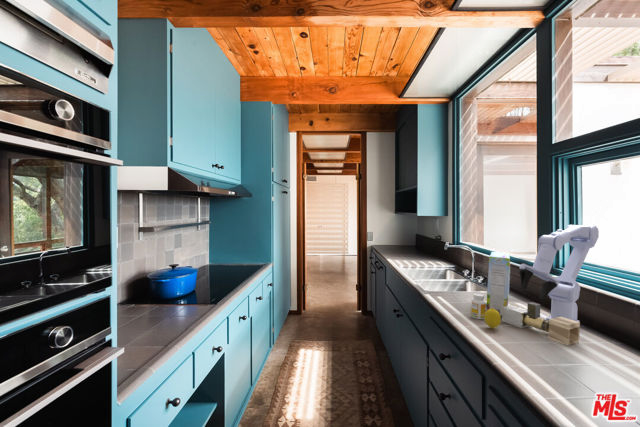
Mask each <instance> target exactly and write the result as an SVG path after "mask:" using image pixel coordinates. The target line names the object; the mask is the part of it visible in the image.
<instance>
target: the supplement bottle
mask: <svg viewBox="0 0 640 427" xmlns="http://www.w3.org/2000/svg"><path fill="white" fill-rule="evenodd" d="M484 299H485V295H484V294H482V293H473V298H472V299H471V304H470V306H471V307H470V308H471V309H470V310H471V311H470V316H471V318H473V319H476V320H485V319H484V316H485V313H486V304H487V301H486V300H484Z"/></svg>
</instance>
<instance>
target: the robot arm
mask: <svg viewBox="0 0 640 427" xmlns="http://www.w3.org/2000/svg"><path fill="white" fill-rule="evenodd" d="M599 233H600V232H599V228H598V227H597V226H596V225H582V224H581V225H580V224H568V225H566V229H565V230H563V228H562V229H556V231H554V232H551V233H550V234H543V235H541V236H540V237H539V238H538V246H537V250H538V251H537V252H536V256H535V258H534V262H533V264H532V266H530V265H528V264H526V263H521V264H520V265H519V269H520V270H519V272H518V273H519V276H520V289H521V290H526V289H527V287H528V285H529V282H530V280H531V278H532V276H533V275H534V276H536V277H538V278H539V279H541V280H543V281H545V282H542V283H541V291H540V294H539V298H538V299H540V300H545V299H546V298H547V296H548V297H549V299H551V303H550V304H551V306H550V307H551V308H550V309H551V310H550V316H547V317H545V320H549V319H552V318H557V317H564V318H567V319H570V320H574V321H577V322H580V320H578V305H577V303H576V301H577V300H579V297H580V293H581V292H580V291H581V286H580V284H579V283H578V281H576V280H577V277H578V275H579V274H580V271H581V268H582V267H583V264H584V262H585V260H586V257H587V255H588V253H589V251H590V249H591V248H594V247H595V245H596V244H597V242H598V239H599ZM567 243H568V244H569V245H570V246H571V247H573V249H572V250H571V253H570V255H569V257H568V259H567V261H566V264H565V265H564V266H563V267H564V268H563V269H562V272H561V275H558V276H555V277H553V276H552V275H551V274H550V272H551V269H552V267H553V263H554V260H555V258H556V254H557V253H558V251H561V250H562V248H563V246H565V245H566V244H567ZM580 323H581V322H580Z"/></svg>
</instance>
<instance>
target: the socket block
mask: <svg viewBox="0 0 640 427" xmlns="http://www.w3.org/2000/svg"><path fill="white" fill-rule="evenodd" d="M548 321H549V332H548V339H549V340H551V341H554V342H558V343H560V344H563V345H566V346H570V345H574V344H578V343H580V330H581V322H577V321H574V320H570V319H567V318H564V317H557V318H552V319H548Z"/></svg>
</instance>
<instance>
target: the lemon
mask: <svg viewBox="0 0 640 427" xmlns="http://www.w3.org/2000/svg"><path fill="white" fill-rule="evenodd" d="M501 319H502V316H500V314H499V312H498V311H497V310H495V309H494V308H492V309H489V310H487V311H486V310H485V316H484V319H483V320H484V323H485V324H486V325H487V326H488V327H489V328H490V329H495V328H497V327H499V326H500V325H501V323H502V322H501V321H502V320H501Z"/></svg>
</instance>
